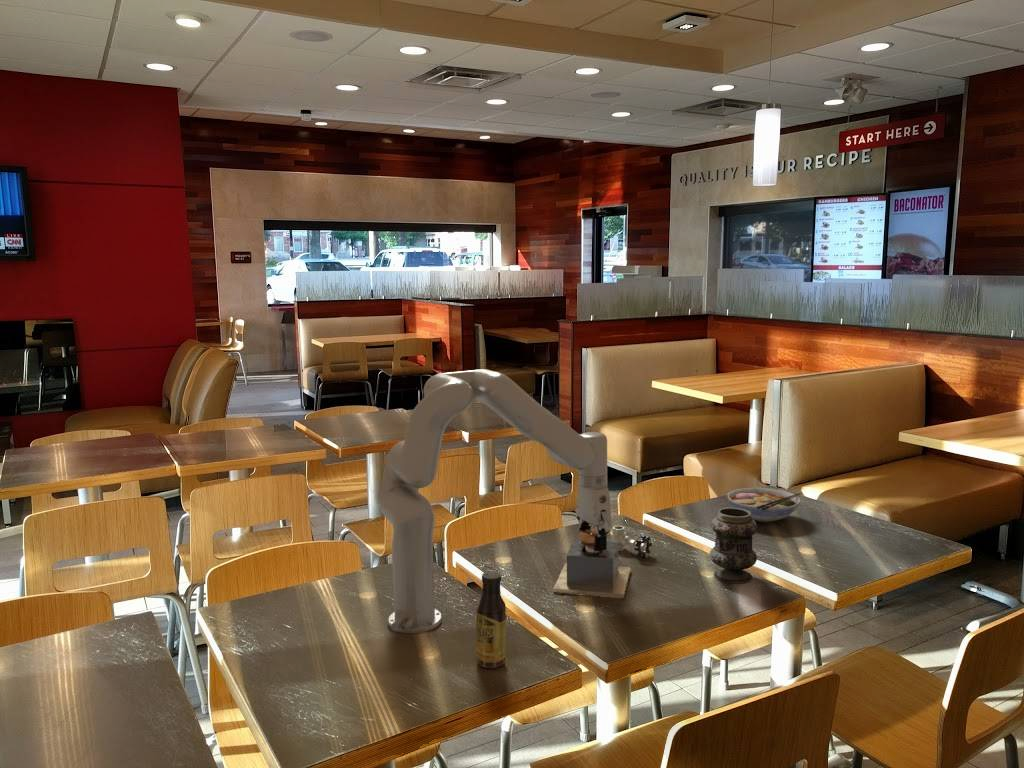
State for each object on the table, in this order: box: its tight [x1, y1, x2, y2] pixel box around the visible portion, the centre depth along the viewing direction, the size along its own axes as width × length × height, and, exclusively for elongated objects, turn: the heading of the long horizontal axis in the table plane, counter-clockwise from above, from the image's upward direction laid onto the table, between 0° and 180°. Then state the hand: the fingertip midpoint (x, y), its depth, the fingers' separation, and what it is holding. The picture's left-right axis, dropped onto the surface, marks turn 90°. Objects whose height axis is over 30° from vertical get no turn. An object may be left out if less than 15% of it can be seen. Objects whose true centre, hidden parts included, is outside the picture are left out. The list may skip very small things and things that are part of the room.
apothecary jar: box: [709, 507, 758, 584], centre depth 208 cm, size 12×12×18 cm
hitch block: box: [552, 539, 631, 599], centre depth 207 cm, size 18×18×9 cm
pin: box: [579, 527, 602, 553], centre depth 206 cm, size 7×7×10 cm
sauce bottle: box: [475, 570, 507, 670], centre depth 164 cm, size 7×6×20 cm
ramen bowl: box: [727, 487, 803, 523], centre depth 255 cm, size 25×23×8 cm
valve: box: [611, 525, 653, 559], centre depth 228 cm, size 7×7×12 cm
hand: (592, 545), depth 206 cm, fingers closed on pin, 7 cm apart
